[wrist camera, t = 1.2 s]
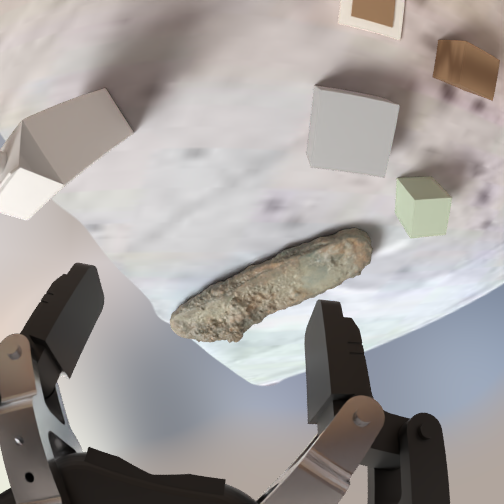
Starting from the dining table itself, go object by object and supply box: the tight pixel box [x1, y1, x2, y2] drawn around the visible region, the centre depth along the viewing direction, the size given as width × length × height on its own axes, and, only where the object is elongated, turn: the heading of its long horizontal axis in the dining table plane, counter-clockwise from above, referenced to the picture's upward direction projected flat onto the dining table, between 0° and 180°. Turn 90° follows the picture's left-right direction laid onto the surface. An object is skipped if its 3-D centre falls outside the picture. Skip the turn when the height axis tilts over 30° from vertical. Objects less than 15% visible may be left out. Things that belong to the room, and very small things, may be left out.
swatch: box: [338, 0, 405, 40], centre depth 21 cm, size 7×7×1 cm
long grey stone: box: [170, 228, 373, 342], centre depth 44 cm, size 35×5×10 cm
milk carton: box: [0, 88, 134, 220], centre depth 24 cm, size 7×7×19 cm
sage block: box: [395, 176, 452, 238], centre depth 32 cm, size 5×5×6 cm
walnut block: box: [433, 40, 500, 101], centre depth 22 cm, size 5×5×6 cm
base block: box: [306, 85, 400, 178], centre depth 29 cm, size 8×8×5 cm
